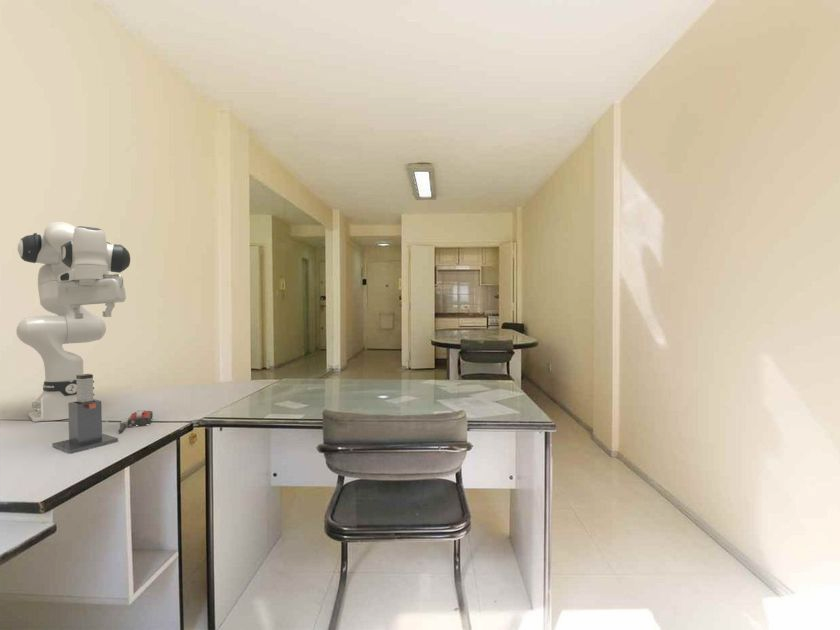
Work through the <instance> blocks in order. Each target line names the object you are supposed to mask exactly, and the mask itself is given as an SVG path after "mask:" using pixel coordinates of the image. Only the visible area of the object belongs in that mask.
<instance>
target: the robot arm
mask: <svg viewBox="0 0 840 630" xmlns="http://www.w3.org/2000/svg"><path fill="white" fill-rule="evenodd" d="M17 252H18V253H17V254H19V256H20V258H21V260H22V261H24V262H26V263H33V264H43V265H42V266H40V268H39V270H38V274H37V289H38V298H39V302H40V305H41V307H42V308H43V309H44V310H45V311H47V312H49V313H51V314H55V315H38V316H37V315H36V316H30V317H26V318H23V319H21V321H19V322H18V324H17V326H16V331H15V332H16V336H17V338H18V339H19V341H21V342H22V343H23V344H26V345H27V346H29V347H31V348H33V349H34V350H35V351H36V353H38V354H39V355H40V357H41V359H42V363H43V366H44V376H45V377H44V381H43V385H42V390H43V391H42V393H41V394H40V395H39V397H38V398H37V399H36V401H33V402H31V408H32V409H36V410H34V411H31V412H28V417H29V419H30V420H31V421H32V422H33V423H34V422H35V423H36V422H45V421H46V422H47V421H48V422H49V421H59V420H60V421H61V420H69V406H68V403H70V402H76V401H77V385H76V375H82V374H84V360H83V358H82V356H80V355H79V354H76V353H74V352H70V351H67V350H65V349H64V348H63V345H65V344H82V343H91V342H94V341H99V340H101V339H102V338H103V337H104V336H105V334H106V330H107V327H106V323H105V321H104V320H103V318H111V317H112V311H113V309H114V308H115V305H116V303H124V302H125V301H126V299H127V295H126V288H125V285H124V284H125V283H124V277H122V275H119V274H120V273H122V272H124V271H125V270H127V268H129V267H130V265H131V254H130V252H129V251H128V249H127V248H126V247H124V245H122V244H112V243H110V242H108V241H107V238H106V233H105V231H104V230H103V229H101V228H98V227H92V226H81V225H80V226H75V225H74V224H71V223H69V222H66V221H53V222H50V223H49V224H48V225H46V226H45V228H44V232H43V234H38V233H37V232H34V233H32V234H29V235H25V236H23V237H22V238H20V240H19V242H18V244H17ZM109 272H111V273H113V274H111V273H109ZM98 304H102V305H103V304H105V306H106V308H105V310H104V311H102V317H103V318H101V317H100V316H97V315H96V314H92V313H91V312H89V311H88V310H87V309H86V308H85V307H84V306H83V305H85V306H86V305H87V306H88V305H98Z"/></svg>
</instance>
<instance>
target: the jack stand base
mask: <svg viewBox="0 0 840 630" xmlns="http://www.w3.org/2000/svg"><path fill="white" fill-rule="evenodd" d="M93 400H94V402H90V403H84V404H77V401H76V402H70V403H68V406H69V419H68V439H64V440H62V441H61V440H60V441H56V442H52V444H51V447H52V448H54V449H57V450H60V451H62V452H64V453H68V454H69V453H71V454H74V452H75V453H78V451H79V452H82V450H83V451H86V450H90V449H94V448H98V447H101V445H102V446H105V444H106V445H109V443H110V444H113V442H114V443H117V441H118V442H119V438H118V437H115V436H113V435H109V434H106V433H103V425H102V424H103V420H102V419H103V418H102V415H103V413H102V412H103V411H102V406H103V405H102V400H98V399H94V398H93ZM97 446H98V447H97ZM93 447H94V448H93ZM89 448H90V449H89Z"/></svg>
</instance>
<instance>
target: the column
mask: <svg viewBox="0 0 840 630" xmlns="http://www.w3.org/2000/svg"><path fill="white" fill-rule="evenodd" d="M94 383H95V380H94V375H93V373H92V374H91V373H83V374H82V375H76V385H77V404H84V403H90V402H94V400H93V399H94V396H95V393H94V390H95V387H94Z"/></svg>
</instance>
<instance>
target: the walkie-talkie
mask: <svg viewBox="0 0 840 630" xmlns="http://www.w3.org/2000/svg"><path fill="white" fill-rule="evenodd" d="M152 417H153V411H152V410H144V409H141V410H137V411H135V412H133V413H132V414H131V415H130V417H127V418H124V419H122V420H121V422H119V428H118V430H117V431H118V432H120V433H122V432H123V430H124V427H125V428H132V427H131V426H136V425H144V426H147V425H146V424H150V425H151V423H152V420H153V418H154V417H153V418H152ZM151 419H152V420H151ZM150 422H151V423H150ZM136 427H137V426H136Z"/></svg>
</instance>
